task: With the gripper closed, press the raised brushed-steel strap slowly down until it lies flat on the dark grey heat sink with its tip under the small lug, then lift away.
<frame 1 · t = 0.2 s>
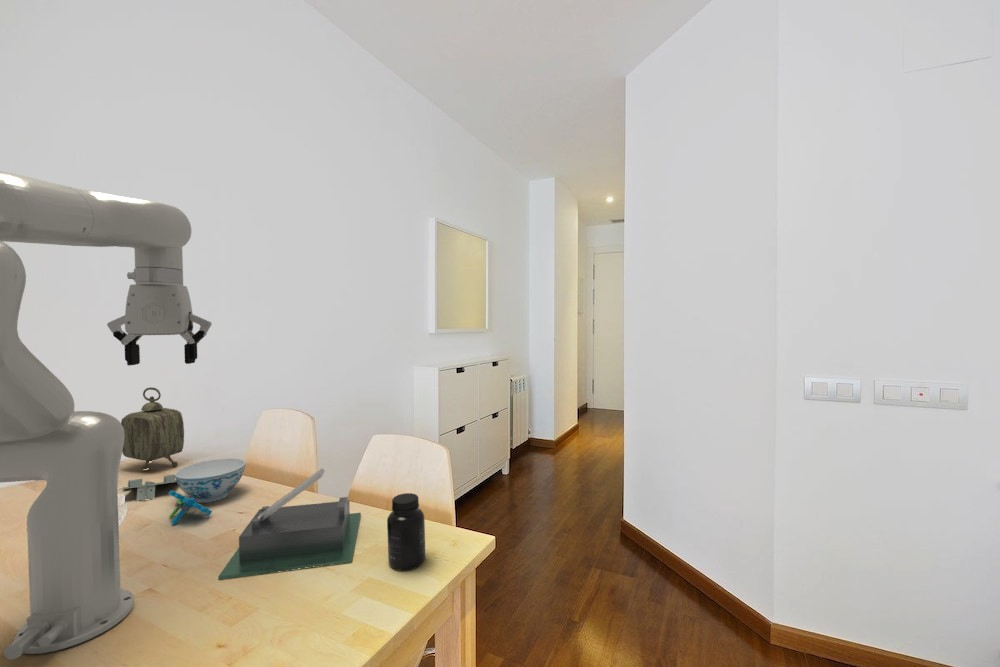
hand: (162, 363, 86), 36 cm above the table, tool pointing down, fingers open, 9 cm apart
chinaware: (212, 498, 109), on the table
supplement bottle: (406, 562, 80), on the table
steel strap: (290, 495, 86), point 10 cm above the table, hinge at -35.0°
tabletop clock: (152, 469, 131), on the table
metal bracket: (153, 493, 113), on the table
gear: (189, 519, 98), on the table
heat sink: (299, 542, 86), on the table
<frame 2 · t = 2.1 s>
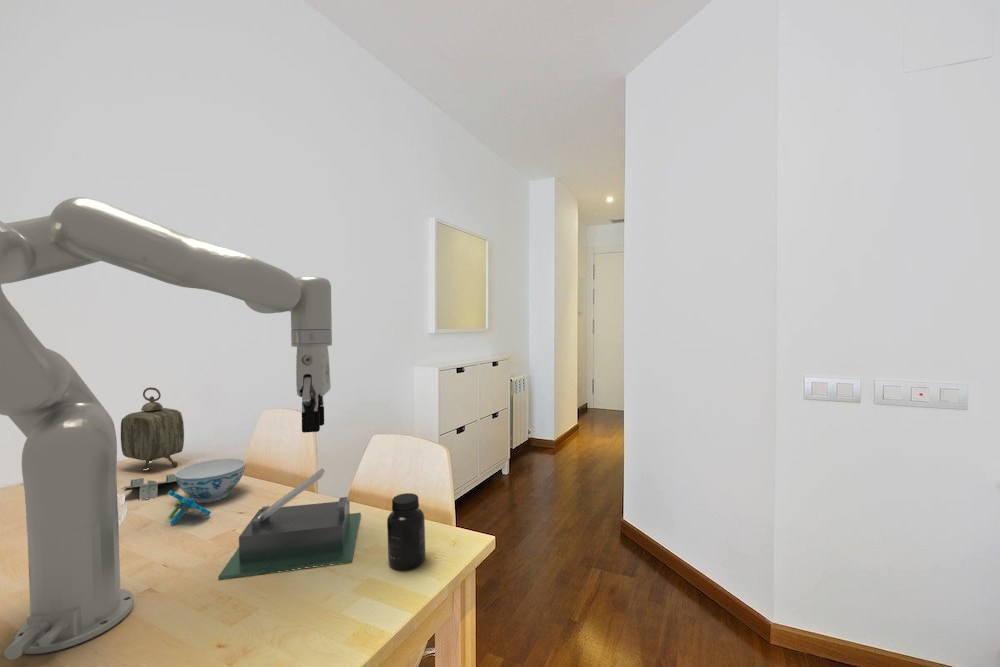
hand: (313, 427, 86), 23 cm above the table, tool pointing down, fingers open, 4 cm apart
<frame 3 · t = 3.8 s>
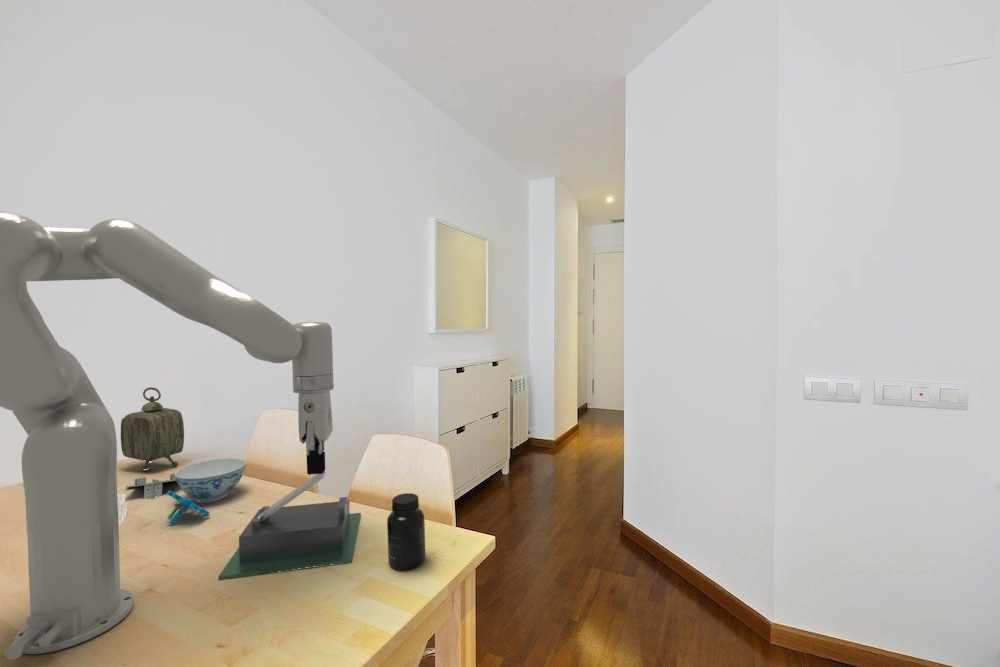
hand: (316, 472, 87), 14 cm above the table, tool pointing down, fingers closed
steel strap: (291, 496, 86), point 10 cm above the table, hinge at -33.5°, touching gripper
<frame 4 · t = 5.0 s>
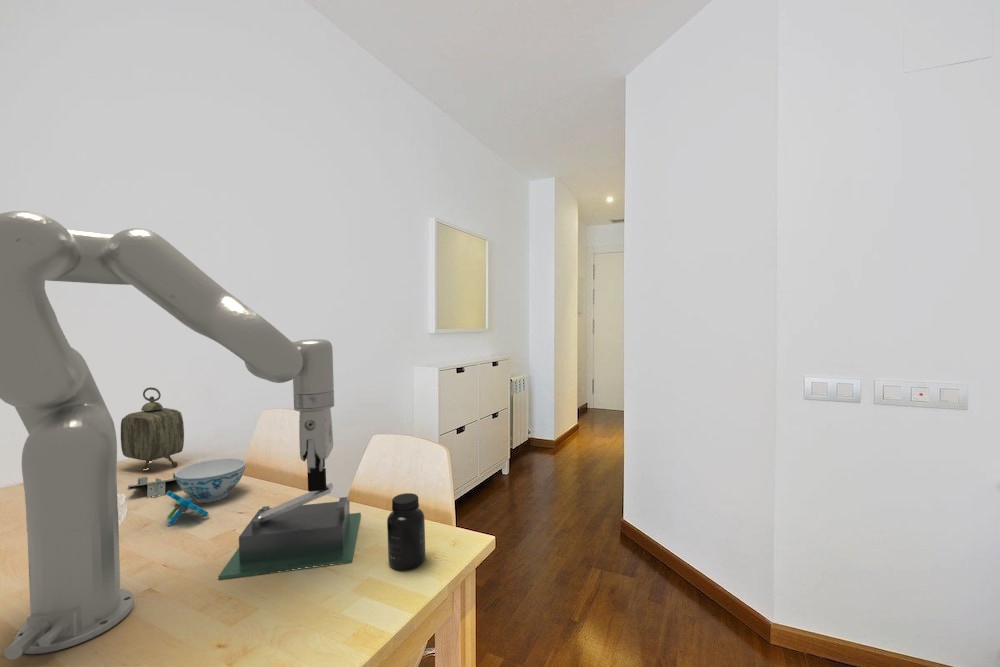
hand: (317, 489, 87), 11 cm above the table, tool pointing down, fingers closed
steel strap: (295, 502, 86), point 8 cm above the table, hinge at -19.8°, touching gripper
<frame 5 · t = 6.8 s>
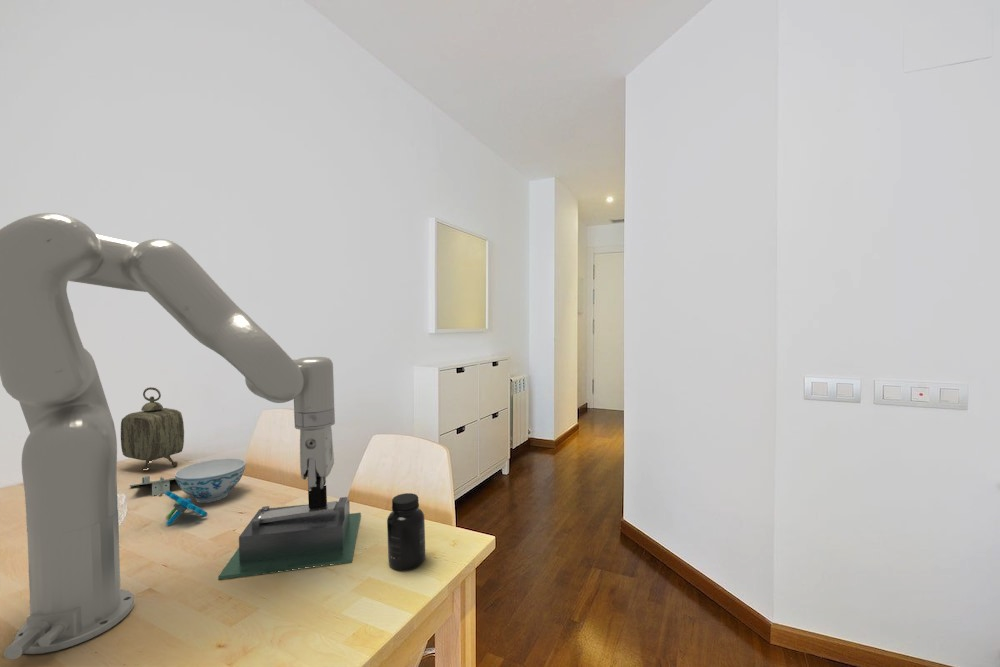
hand: (318, 506, 87), 7 cm above the table, tool pointing down, fingers closed
steel strap: (297, 512, 86), point 6 cm above the table, hinge at -3.0°, touching gripper
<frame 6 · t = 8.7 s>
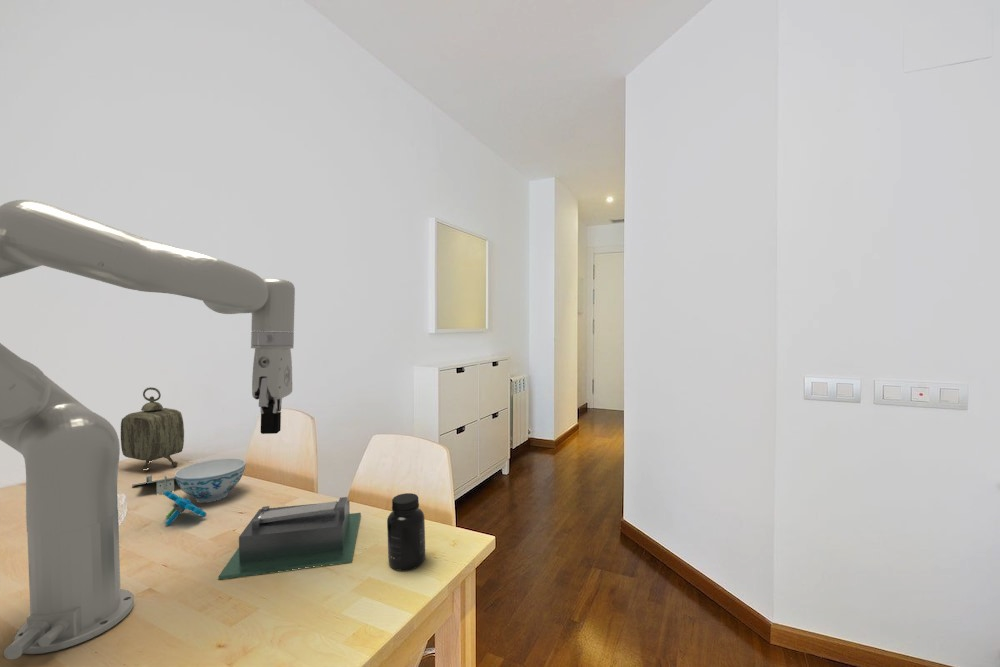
hand: (270, 432, 85), 23 cm above the table, tool pointing down, fingers closed
steel strap: (297, 512, 86), point 6 cm above the table, hinge at -2.9°
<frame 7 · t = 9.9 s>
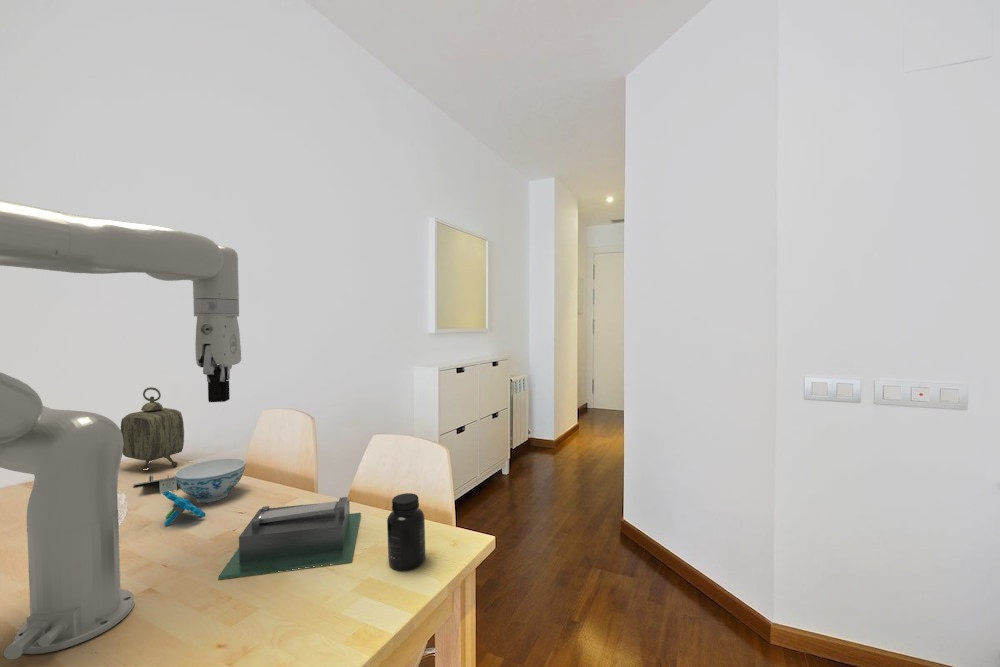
hand: (219, 401, 85), 29 cm above the table, tool pointing down, fingers closed
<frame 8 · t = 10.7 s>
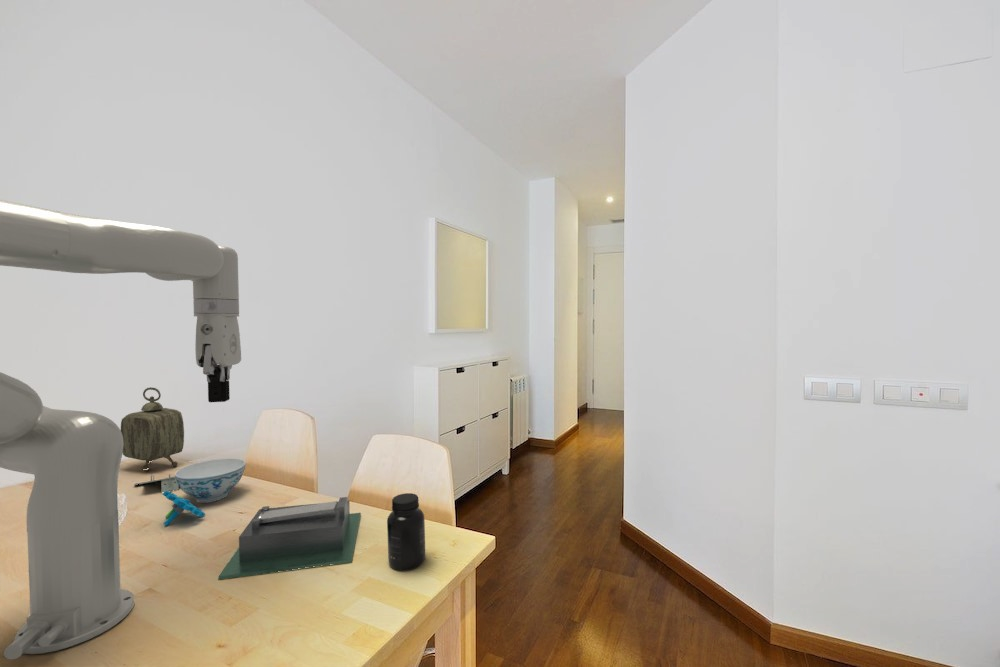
hand: (219, 401, 85), 29 cm above the table, tool pointing down, fingers closed
at the end: steel strap at -3° (first picture: -35°) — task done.
